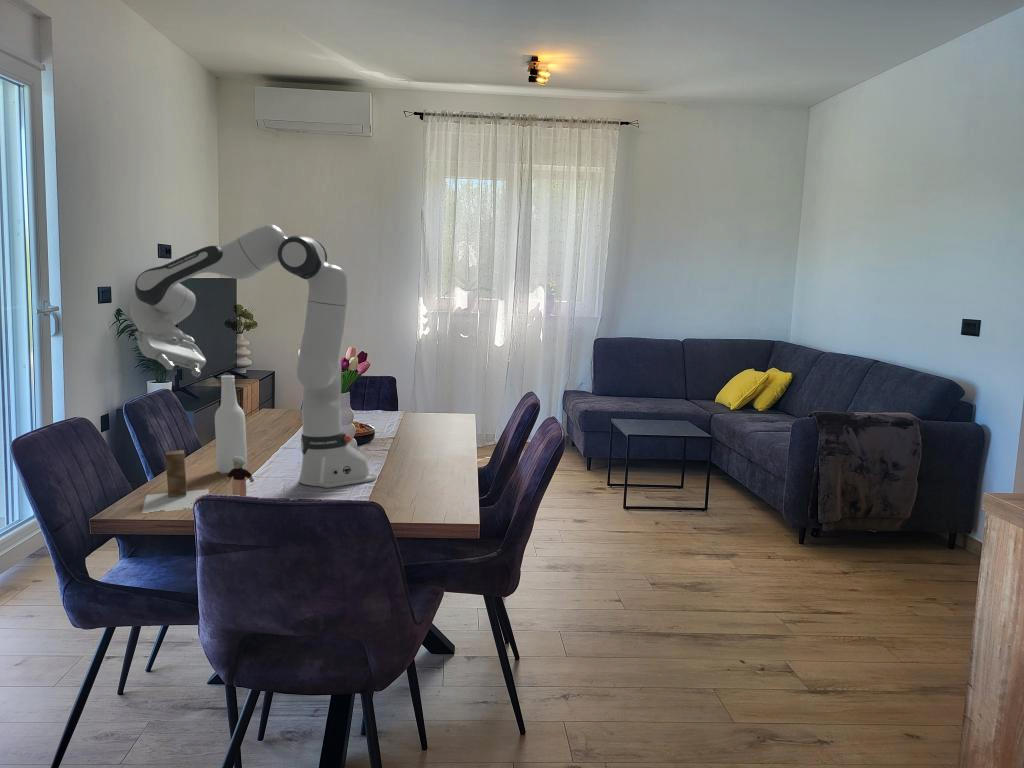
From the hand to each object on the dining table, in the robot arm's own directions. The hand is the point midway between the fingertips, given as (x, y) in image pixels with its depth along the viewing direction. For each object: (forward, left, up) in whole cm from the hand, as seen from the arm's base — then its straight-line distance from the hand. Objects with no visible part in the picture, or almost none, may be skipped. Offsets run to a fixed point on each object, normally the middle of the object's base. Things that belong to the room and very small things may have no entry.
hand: (184, 371), depth 213 cm
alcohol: (-11, -20, -34) cm, 42 cm away
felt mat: (+4, +10, -34) cm, 36 cm away
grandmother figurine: (-12, +15, -34) cm, 40 cm away
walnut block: (+4, +4, -34) cm, 34 cm away
